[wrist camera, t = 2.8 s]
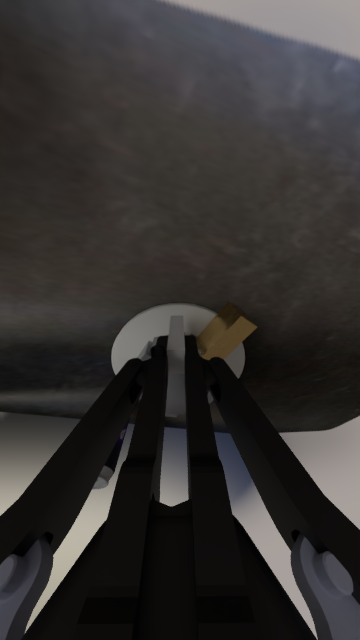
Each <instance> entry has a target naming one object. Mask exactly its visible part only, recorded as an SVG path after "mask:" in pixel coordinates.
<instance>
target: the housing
mask: <svg viewBox="0 0 360 640" xmlns="http://www.w3.org/2000/svg"><path fill="white" fill-rule="evenodd" d="M217 314H218V313H216V312H214V311H213V310H211V309H208V308H206V307H203V306H200V305H196V304H190V303H166V304H161V305H157V306H153V307H151V308H148V309H146V310H144V311H142V312H140V313H138V314H137V315H136V316H134V317H133V318H132V319H130V320H129V321H128V322H127V324H126V325H125V326H124V327H123V329H122V330H121V332H120V333H119V335H118V336H117V338H116V340H115V342H114V345H113V348H112V356H111V359H112V366H113V370H114V372H115V375H117V373H118V372H119V371H120V370H121V368H122V367H123V366H124V365H125V363H126V362H127V361H128V360H130V359H132V358H137V357H138V355H139V354H140V352H141V351H142V350H143V348H144V347H145V345H146V344H147V342H148V341H151V342H153V340H154V337H159V336H165V335H169V327H170V319H171V316H183V321H184V332H185V335H190V334H191V333H192V334H193V335H195V336H197V337H198V336H199V334H200V333H201V332H202V331H203V330H204V329H205V327H206V326H207V325H208V324H209V323H210V322H211V321H212V319H213V318H214V317H215V316H216V315H217ZM224 360H225V362H226V363H227V364H228V366H229V367H230V368H231V370H232V371H233V372H234V374H235V375H236V376H237V378H238V379H239V377H240V375H241V373H242V371H243V368H244V363H245V351H244V347H243V343H242V342H241V343H240V344H239V345H238V346H237V347H236V348H235V349H234V350H233V351H232V352H231V353H230V354H229V355H228V356H227V357H226V358H225V359H224ZM166 413H170V414H176V415H181V414H186V404H185V374H168V387H167V400H166Z"/></svg>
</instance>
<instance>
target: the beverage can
mask: <svg viewBox="0 0 360 640" xmlns="http://www.w3.org/2000/svg"><path fill="white" fill-rule="evenodd" d="M129 419H130V417H129ZM129 419H128V421H127V423H126V425H125V427H124V429H123V431H122V432H121V434H120V436H119V438H118V440H117V442H116V444H115V446H114V448H113V450H112V452H111V454H110V455H109V457H108V459H107V461H106V463H105V465H104V467H103V469H102V471H101V473H100V475H99V477H98V479H97V480H96V482H95V484H94V486H93V488H92V489H101V488H104V487H106V486H107V485H108V481H109V480H110V478H111V477H112V475H113V474H114V472H115V468H116V465H117V461H118V457H119V454H120V451H121V447H122V444H123V440H124V436H125V433H126V429H127V426H128V422H129Z"/></svg>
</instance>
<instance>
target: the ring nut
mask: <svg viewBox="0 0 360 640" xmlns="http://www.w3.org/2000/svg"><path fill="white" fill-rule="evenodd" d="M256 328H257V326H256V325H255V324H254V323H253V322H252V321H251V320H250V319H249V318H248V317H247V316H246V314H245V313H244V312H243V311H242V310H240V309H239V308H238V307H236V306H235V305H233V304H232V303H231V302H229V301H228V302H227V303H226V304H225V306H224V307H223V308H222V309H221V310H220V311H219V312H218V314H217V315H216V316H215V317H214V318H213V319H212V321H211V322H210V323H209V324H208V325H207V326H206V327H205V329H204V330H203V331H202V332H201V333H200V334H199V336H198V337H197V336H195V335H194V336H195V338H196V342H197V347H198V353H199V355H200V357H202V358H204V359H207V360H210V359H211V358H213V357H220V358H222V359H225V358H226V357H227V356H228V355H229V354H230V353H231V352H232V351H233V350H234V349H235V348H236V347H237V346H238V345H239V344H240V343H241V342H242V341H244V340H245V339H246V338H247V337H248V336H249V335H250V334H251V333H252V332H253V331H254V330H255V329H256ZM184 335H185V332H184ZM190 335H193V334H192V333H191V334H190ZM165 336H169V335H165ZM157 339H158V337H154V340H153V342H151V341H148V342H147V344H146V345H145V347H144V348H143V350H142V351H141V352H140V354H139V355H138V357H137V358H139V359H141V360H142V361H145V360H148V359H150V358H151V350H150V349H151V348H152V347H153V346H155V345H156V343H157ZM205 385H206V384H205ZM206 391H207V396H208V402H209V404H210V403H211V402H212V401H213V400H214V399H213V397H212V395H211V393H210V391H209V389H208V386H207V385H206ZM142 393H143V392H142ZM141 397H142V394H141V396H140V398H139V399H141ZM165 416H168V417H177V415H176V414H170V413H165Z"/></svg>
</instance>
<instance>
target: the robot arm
mask: <svg viewBox="0 0 360 640" xmlns="http://www.w3.org/2000/svg"><path fill="white" fill-rule="evenodd" d="M150 350H151V358H150V359H148V360H145V361H142V360H141V359H139V358H132V359H130V360H128V361H127V362H126V363H125V365H124V366H123V367H122V368H121V370H120V371H119V372H118V373H117V375H116V376H115V377H114V379H113V380H112V381H111V382H110V384H109V385H108V386H107V387H106V389H105V390H104V391H103V392H102V394H101V395H100V396H99V398H98V399H97V400H96V401H95V403H94V404H93V405H92V406H91V408H90V409H89V410H88V412H87V413H86V414H85V415H84V417H83V418H82V419H81V420H80V422H79V423H78V424H77V426H76V427H75V428H74V429H73V431H72V432H71V433H70V434H69V436H68V437H67V438H66V439H65V441H64V442H63V443H62V445H61V446H60V447H59V448H58V450H57V451H56V452H55V453H54V455H53V456H52V457H51V458H50V460H49V461H48V462H47V464H46V465H45V466H44V467H43V469H42V470H41V471H40V473H39V474H38V475H37V476H36V478H35V479H34V480H33V481H32V483H31V484H30V485H29V486H28V488H27V489H26V490H25V492H24V493H23V494H22V495H21V496H20V498H19V499H18V500H17V501H16V502H15V503H14V504H13V505H12V506H11V507H10V508H8V509H7V510H6V511H5V512H4V513H3V514H2V515H1V516H0V640H317V639H316V637H315V636H314V634H313V633H312V631H311V630H310V628H309V627H308V625H307V623H306V622H305V620H304V619H303V617H302V616H301V614H300V613H299V611H298V610H297V608H296V607H295V605H294V604H293V602H292V601H291V599H290V598H289V596H288V595H287V593H286V591H285V590H284V588H283V587H282V585H281V584H280V582H279V581H278V579H277V578H276V576H275V575H274V573H273V572H272V570H271V569H270V567H269V566H268V564H267V562H266V561H265V559H264V558H263V556H262V555H261V553H260V552H259V550H258V549H257V547H256V546H255V544H254V543H253V541H252V540H251V538H250V537H249V535H248V533H247V532H246V531H245V529H244V528H243V526H242V525H241V524H240V522H239V521H238V520H237V519H236V518H235V517H234V516H233V515H232V511H231V505H230V500H229V495H228V491H227V485H226V479H225V474H224V470H223V466H222V463H221V461H220V459H219V456H218V451H217V446H216V440H215V435H214V429H213V424H212V418H211V413H210V407H209V402H208V396H207V391H206V385H207V386H208V389H209V391H210V393H211V395H212V397H213V399H214V401H215V403H216V405H217V407H218V409H219V411H220V413H221V415H222V418H223V420H224V422H225V424H226V426H227V428H228V430H229V432H230V434H231V436H232V438H233V440H234V442H235V444H236V446H237V448H238V451H239V452H240V455H241V457H242V459H243V461H244V463H245V465H246V467H247V469H248V471H249V473H250V476H251V478H252V479H253V482H254V484H255V486H256V488H257V490H258V492H259V494H260V496H261V498H262V500H263V502H264V505H265V506H266V509H267V511H268V512H269V514H270V516H271V518H272V520H273V522H274V524H275V526H276V528H277V529H278V531H279V533H280V534H281V536H282V538H283V539H284V541H285V543H286V544H287V546H288V547H289V549H290V550H291V566H292V572H293V575H294V578H295V581H296V584H297V586H298V588H299V590H300V592H301V593H302V596H303V598H304V600H305V602H306V604H307V606H308V608H309V610H310V613H311V615H312V618H313V621H314V624H315V629H316V633H317V637H318V640H360V530H359V529H358V528H357V527H356V526H355V525H354V524H353V523H352V522H351V521H350V520H349V519H348V518H347V517H346V516H345V515H344V514H343V513H342V512H341V511H340V510H339V509H338V508H337V507H336V506H334V504H333V503H332V502H331V501H330V500H329V499H328V498H327V497H326V496H325V495H324V494H323V493H322V491H321V490H320V489H319V488H318V486H317V485H316V483H315V482H314V481H313V479H312V478H311V477H310V475H309V474H308V472H307V471H306V470H305V468H304V467H303V466H302V464H301V463H300V462H299V460H298V459H297V458H296V456H295V455H294V454H293V452H292V451H291V449H290V448H289V447H288V445H287V444H286V443H285V441H284V440H283V439H282V437H281V436H280V435H279V433H278V432H277V431H276V429H275V428H274V426H273V425H272V424H271V422H270V421H269V420H268V418H267V417H266V416H265V414H264V413H263V412H262V410H261V409H260V408H259V406H258V405H257V404H256V402H255V401H254V399H253V398H252V397H251V395H250V394H249V393H248V391H247V390H246V389H245V387H244V386H243V385H242V383H241V382H240V381H239V379H238V378H237V376H236V375H235V374H234V372H233V371H232V370H231V368H230V367H229V366H228V364H227V363H226V362H225V360H224V359H222V358H220V357H213V358H211V359H210V360H207V359H204V358H202V357H200V355H199V353H198V347H197V342H196V338H195V336H194V335H184V321H183V316H171V319H170V327H169V336H159V337H158V339H157V343H156V345H155V346H153V347H152V348H151V349H150ZM168 374H185V404H186V431H187V457H188V458H187V459H188V491H189V492H188V494H189V500H188V501H185V502H182V503H180V504H178V505H175V506H173V507H170V506H167V505H165V504H162V503H160V502H159V500H160V475H161V462H162V450H163V437H164V425H165V413H166V400H167V387H168ZM205 384H206V385H205ZM142 392H143V393H142ZM141 394H142V397H141V402H140V406H139V410H138V414H137V418H136V422H135V426H134V430H133V435H132V439H131V443H130V447H129V451H128V455H127V458H126V460H125V461H124V462H123V464H122V466H121V469H120V472H119V475H118V479H117V483H116V487H115V491H114V495H113V498H112V502H111V506H110V510H109V514H108V518H107V520H106V521H105V522H104V523H103V524H102V526H101V527H100V528H99V529H98V531H97V532H96V534H95V535H94V536H93V538H92V539H91V541H90V542H89V543H88V545H87V546H86V548H85V549H84V551H83V552H82V553H81V555H80V556H79V558H78V559H77V560H76V562H75V564H74V565H73V566H72V568H71V569H70V570H69V572H68V573H67V575H66V576H65V577H64V579H63V580H62V582H61V583H60V585H59V586H58V587H57V589H56V590H55V592H54V593H53V594H52V596H51V597H50V599H49V600H48V602H47V603H46V604H45V606H44V607H43V609H42V610H41V611H40V613H39V614H38V616H37V617H36V619H35V620H34V622H33V623H32V624H31V626H30V627H29V629H28V630H27V631H26V633H25V630H26V626H27V623H28V621H29V618H30V616H31V614H32V611H33V609H34V607H35V605H36V604H37V602H38V600H39V598H40V596H41V595H42V593H43V591H44V589H45V588H46V586H47V583H48V581H49V577H50V574H51V570H52V567H53V554H54V553H55V552H56V550H57V549H58V548H59V546H60V545H61V543H62V541H63V540H64V538H65V537H66V535H67V534H68V532H69V530H70V529H71V527H72V525H73V524H74V522H75V520H76V518H77V516H78V515H79V513H80V511H81V509H82V507H83V505H84V503H85V501H86V500H87V498H88V496H89V493H90V492H91V490H92V488H93V486H94V484H95V482H96V480H97V479H98V477H99V475H100V473H101V471H102V469H103V467H104V465H105V463H106V461H107V459H108V457H109V455H110V454H111V452H112V450H113V448H114V446H115V444H116V442H117V440H118V438H119V436H120V434H121V432H122V431H123V429H124V427H125V425H126V423H127V421H128V419H129V417H130V415H131V413H132V411H133V409H134V407H135V406H136V404H137V402H138V400H139V398H140V396H141ZM24 633H25V634H24Z"/></svg>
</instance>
